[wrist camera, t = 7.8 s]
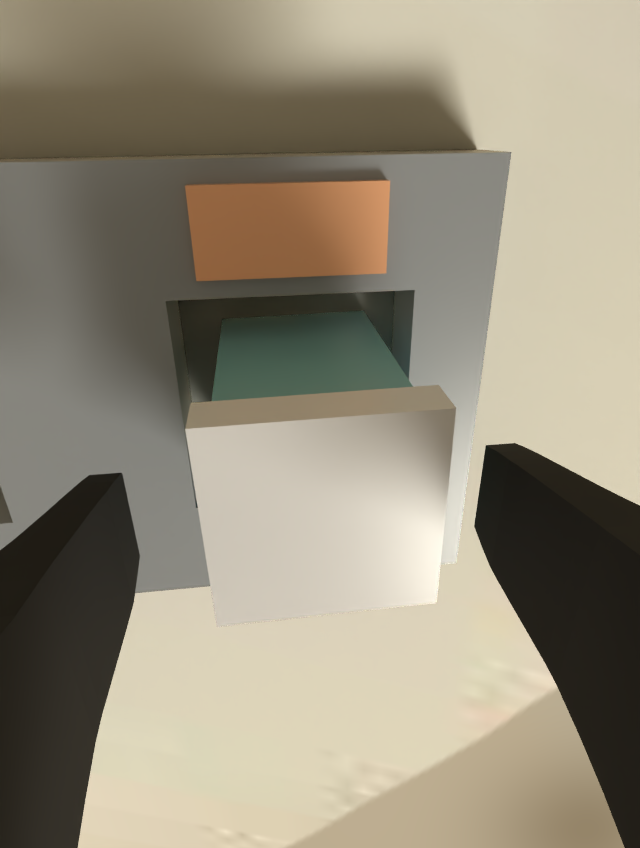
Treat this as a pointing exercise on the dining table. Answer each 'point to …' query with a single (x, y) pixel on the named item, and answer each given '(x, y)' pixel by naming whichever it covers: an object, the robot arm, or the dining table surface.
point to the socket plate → (215, 279)
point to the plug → (318, 471)
